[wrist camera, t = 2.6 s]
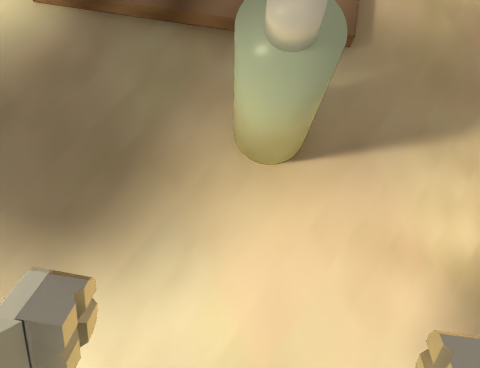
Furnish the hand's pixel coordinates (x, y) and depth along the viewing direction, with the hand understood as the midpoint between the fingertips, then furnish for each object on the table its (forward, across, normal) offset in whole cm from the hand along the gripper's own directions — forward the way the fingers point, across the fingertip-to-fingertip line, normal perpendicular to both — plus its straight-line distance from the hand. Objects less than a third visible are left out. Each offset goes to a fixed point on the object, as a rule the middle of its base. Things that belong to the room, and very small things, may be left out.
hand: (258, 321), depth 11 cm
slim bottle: (+21, 0, +4) cm, 22 cm away
